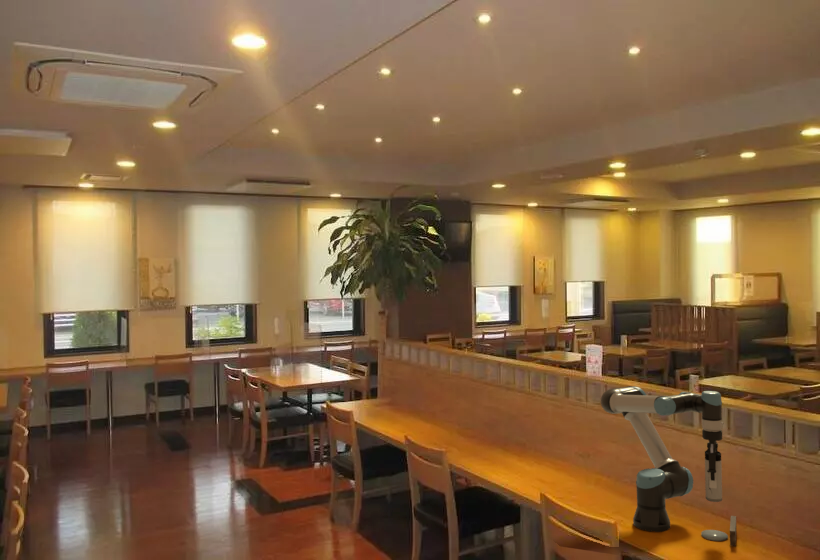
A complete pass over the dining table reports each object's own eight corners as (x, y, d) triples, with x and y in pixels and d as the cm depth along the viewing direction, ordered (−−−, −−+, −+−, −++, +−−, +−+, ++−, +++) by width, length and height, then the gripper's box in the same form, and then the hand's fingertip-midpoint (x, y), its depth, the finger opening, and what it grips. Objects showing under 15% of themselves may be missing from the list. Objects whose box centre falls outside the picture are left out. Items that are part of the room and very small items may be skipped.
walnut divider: (730, 545, 275) (729, 530, 275) (731, 529, 291) (730, 515, 291) (735, 546, 274) (735, 531, 274) (736, 530, 290) (736, 516, 290)
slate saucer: (700, 538, 282) (700, 537, 282) (702, 530, 291) (702, 528, 291) (727, 542, 278) (727, 540, 278) (728, 533, 287) (728, 531, 287)
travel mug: (717, 496, 288) (716, 448, 288) (725, 501, 281) (724, 452, 281) (702, 497, 288) (701, 449, 288) (710, 502, 281) (708, 453, 281)
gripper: (721, 435, 274) (722, 493, 274) (722, 425, 291) (724, 479, 291) (700, 434, 277) (702, 491, 277) (703, 423, 294) (704, 477, 295)
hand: (713, 485), depth 284 cm, fingers closed on travel mug, 6 cm apart
